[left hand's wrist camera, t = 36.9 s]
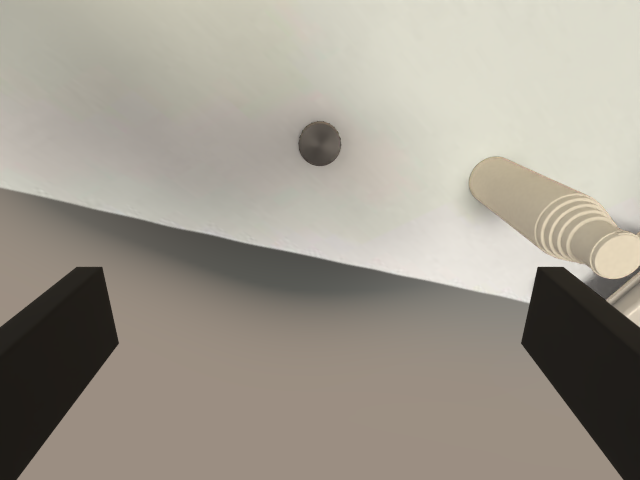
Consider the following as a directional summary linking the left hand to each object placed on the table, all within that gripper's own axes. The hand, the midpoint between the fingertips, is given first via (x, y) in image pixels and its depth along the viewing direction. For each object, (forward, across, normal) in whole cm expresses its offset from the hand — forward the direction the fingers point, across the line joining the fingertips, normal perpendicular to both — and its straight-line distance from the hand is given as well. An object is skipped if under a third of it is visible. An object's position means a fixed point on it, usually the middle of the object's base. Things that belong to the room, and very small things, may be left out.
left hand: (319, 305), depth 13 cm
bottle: (+34, +19, -4) cm, 39 cm away
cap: (+32, 0, 0) cm, 32 cm away
